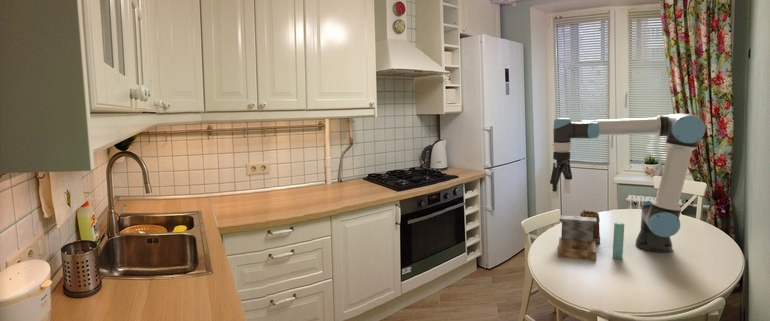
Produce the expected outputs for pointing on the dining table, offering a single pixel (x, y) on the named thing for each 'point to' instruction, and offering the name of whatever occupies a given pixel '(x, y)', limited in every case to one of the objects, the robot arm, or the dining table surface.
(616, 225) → the peg
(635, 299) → the dining table surface
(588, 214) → the mug
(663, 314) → the dining table surface
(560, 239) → the socket block
